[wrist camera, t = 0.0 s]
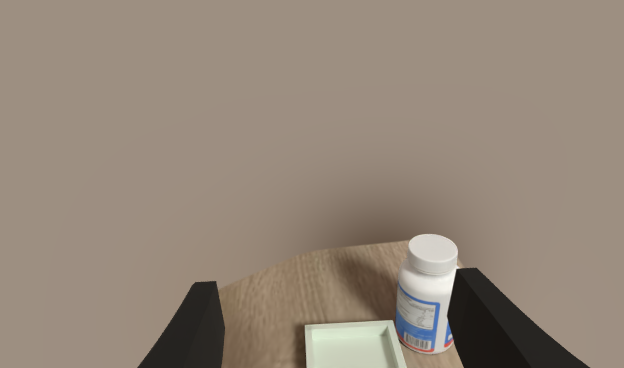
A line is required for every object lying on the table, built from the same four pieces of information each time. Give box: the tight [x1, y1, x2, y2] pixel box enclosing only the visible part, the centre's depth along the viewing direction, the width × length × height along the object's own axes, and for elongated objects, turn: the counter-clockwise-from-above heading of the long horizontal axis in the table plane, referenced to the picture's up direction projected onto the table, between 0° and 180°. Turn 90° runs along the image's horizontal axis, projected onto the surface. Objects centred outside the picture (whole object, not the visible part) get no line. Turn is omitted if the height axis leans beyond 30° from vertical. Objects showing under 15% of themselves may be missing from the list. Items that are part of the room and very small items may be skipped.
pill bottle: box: [395, 234, 460, 354], centre depth 38 cm, size 6×5×10 cm
